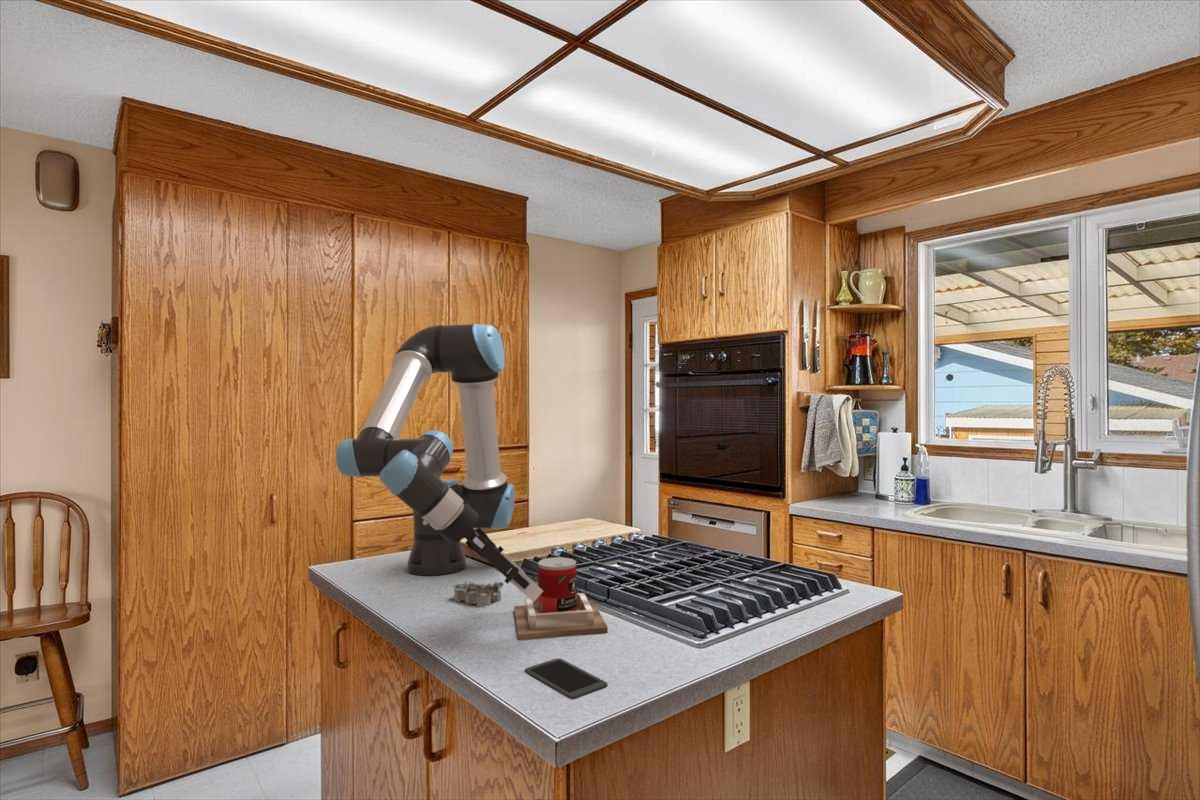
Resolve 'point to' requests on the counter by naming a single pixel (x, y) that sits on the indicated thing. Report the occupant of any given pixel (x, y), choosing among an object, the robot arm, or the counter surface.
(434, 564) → the robot arm
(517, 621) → the socket board
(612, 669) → the counter surface
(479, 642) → the counter surface
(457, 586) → the egg carton
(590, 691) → the cell phone
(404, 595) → the counter surface
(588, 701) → the counter surface
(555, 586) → the canned food
